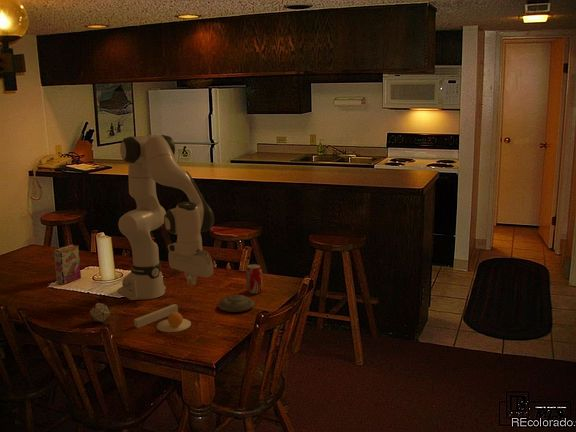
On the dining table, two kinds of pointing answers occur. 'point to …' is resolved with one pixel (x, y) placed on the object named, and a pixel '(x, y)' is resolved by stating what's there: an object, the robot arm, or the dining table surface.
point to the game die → (100, 312)
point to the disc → (167, 327)
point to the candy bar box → (67, 264)
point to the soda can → (254, 278)
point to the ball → (175, 319)
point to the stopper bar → (155, 315)
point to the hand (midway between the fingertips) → (191, 283)
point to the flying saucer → (236, 303)
